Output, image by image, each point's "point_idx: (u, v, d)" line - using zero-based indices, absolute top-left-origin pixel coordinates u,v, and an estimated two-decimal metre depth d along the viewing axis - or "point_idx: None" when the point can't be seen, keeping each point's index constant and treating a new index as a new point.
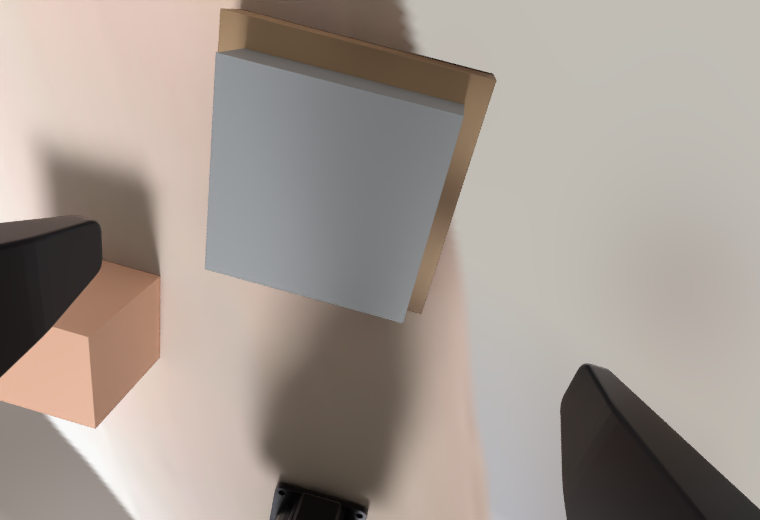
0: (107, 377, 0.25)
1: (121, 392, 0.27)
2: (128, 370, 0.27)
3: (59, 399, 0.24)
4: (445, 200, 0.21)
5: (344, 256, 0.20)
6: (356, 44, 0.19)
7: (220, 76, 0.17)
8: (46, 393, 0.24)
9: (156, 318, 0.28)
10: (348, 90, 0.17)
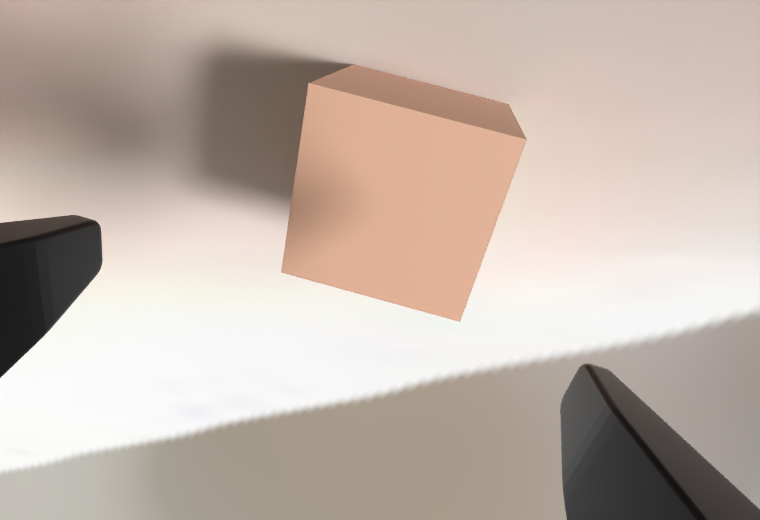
0: (433, 107, 0.14)
1: (501, 119, 0.15)
2: (468, 107, 0.15)
3: (457, 191, 0.14)
4: None
5: None
6: None
7: None
8: (444, 210, 0.14)
9: (422, 83, 0.18)
10: None
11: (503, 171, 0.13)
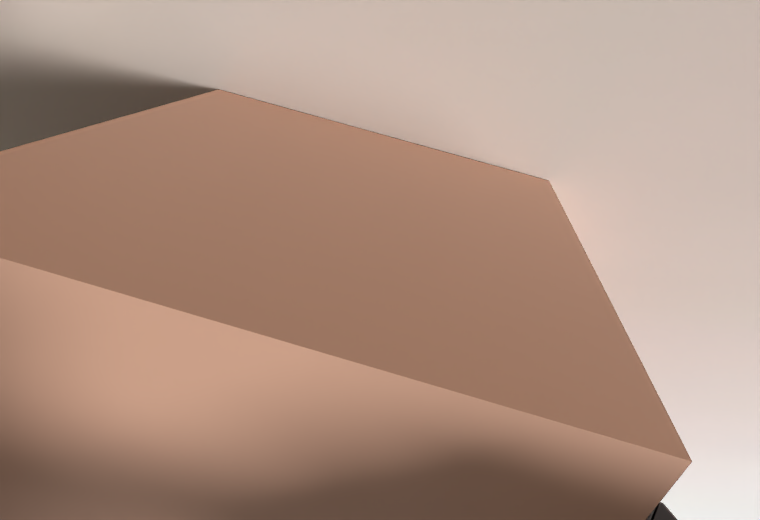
0: (337, 269, 0.04)
1: (554, 276, 0.05)
2: (458, 225, 0.06)
3: None
4: None
5: None
6: None
7: None
8: None
9: (360, 135, 0.08)
10: None
11: None
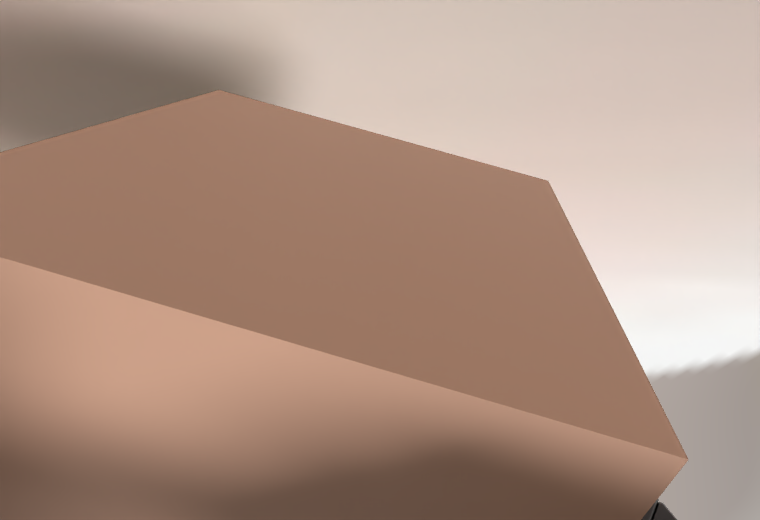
0: (336, 269, 0.04)
1: (553, 276, 0.05)
2: (457, 225, 0.06)
3: None
4: None
5: None
6: None
7: None
8: None
9: (360, 135, 0.08)
10: None
11: None
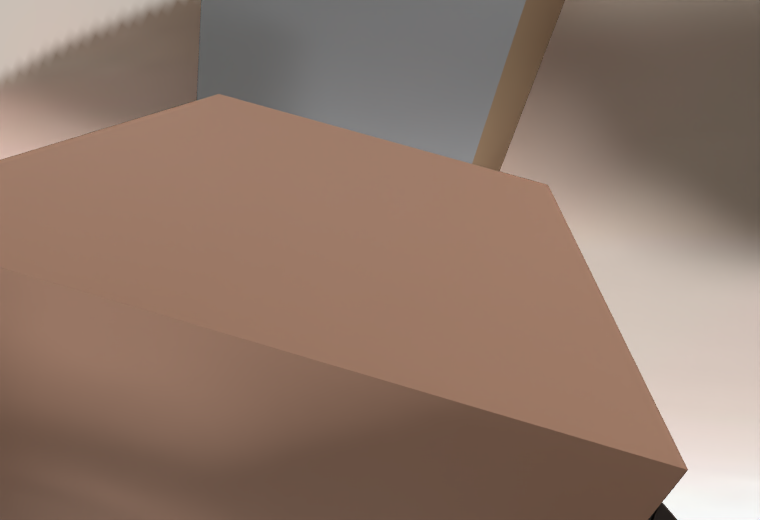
0: (336, 276, 0.04)
1: (553, 283, 0.05)
2: (457, 231, 0.06)
3: None
4: None
5: (419, 44, 0.14)
6: None
7: None
8: None
9: (360, 139, 0.08)
10: (204, 26, 0.15)
11: None
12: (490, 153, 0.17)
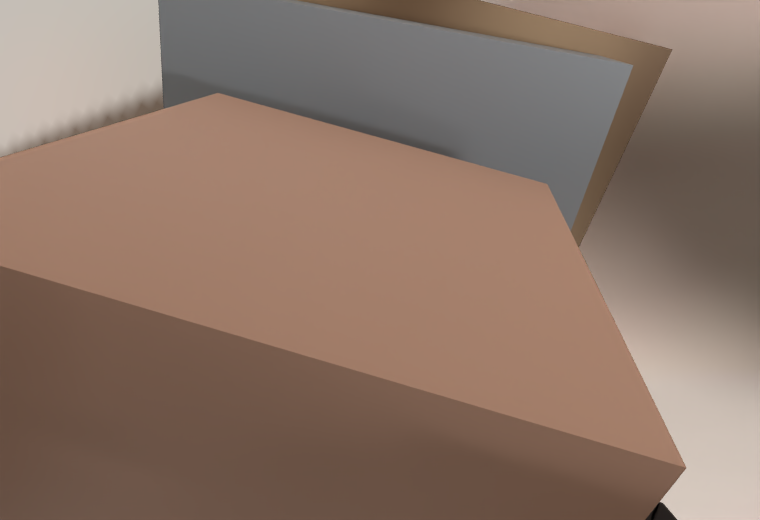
0: (334, 275, 0.04)
1: (551, 281, 0.05)
2: (456, 229, 0.06)
3: None
4: (407, 6, 0.11)
5: None
6: None
7: None
8: None
9: (359, 138, 0.08)
10: None
11: None
12: None
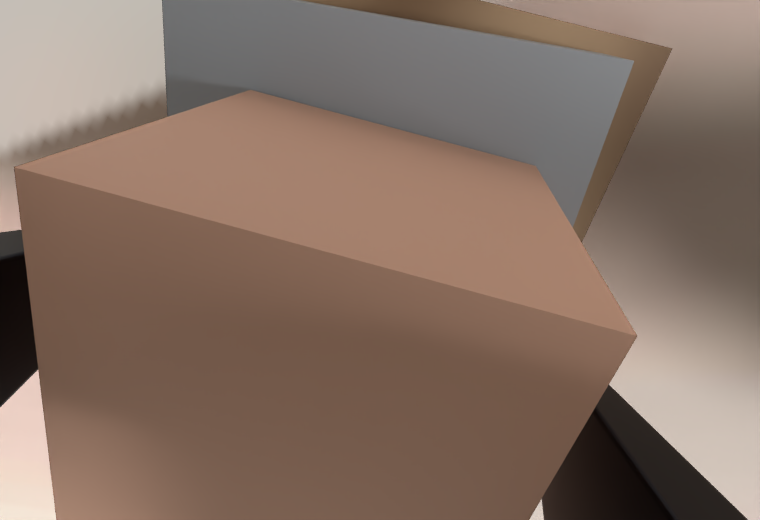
0: (379, 220, 0.05)
1: (541, 231, 0.06)
2: (464, 195, 0.07)
3: (439, 438, 0.05)
4: (409, 7, 0.11)
5: None
6: None
7: None
8: (408, 472, 0.06)
9: (375, 128, 0.09)
10: None
11: (563, 403, 0.05)
12: None
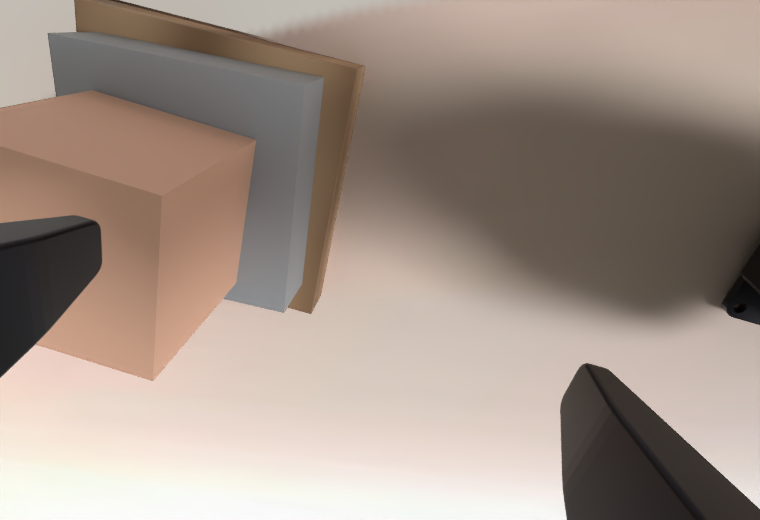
0: (89, 153, 0.13)
1: (186, 164, 0.13)
2: (163, 148, 0.14)
3: (109, 246, 0.12)
4: (203, 44, 0.18)
5: None
6: None
7: None
8: (102, 266, 0.13)
9: (158, 114, 0.16)
10: None
11: (149, 228, 0.12)
12: (314, 230, 0.21)
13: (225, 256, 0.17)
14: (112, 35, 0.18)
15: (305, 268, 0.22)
